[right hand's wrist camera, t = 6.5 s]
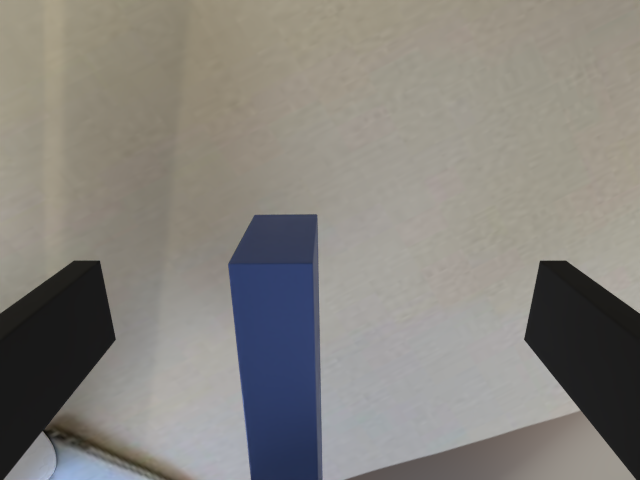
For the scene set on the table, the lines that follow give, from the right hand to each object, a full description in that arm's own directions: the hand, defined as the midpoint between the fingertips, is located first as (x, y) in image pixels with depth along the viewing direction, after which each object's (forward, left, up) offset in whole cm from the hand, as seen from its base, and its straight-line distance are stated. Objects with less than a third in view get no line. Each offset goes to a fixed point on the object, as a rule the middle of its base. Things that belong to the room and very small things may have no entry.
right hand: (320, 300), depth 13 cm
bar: (+7, +15, -17) cm, 24 cm away
